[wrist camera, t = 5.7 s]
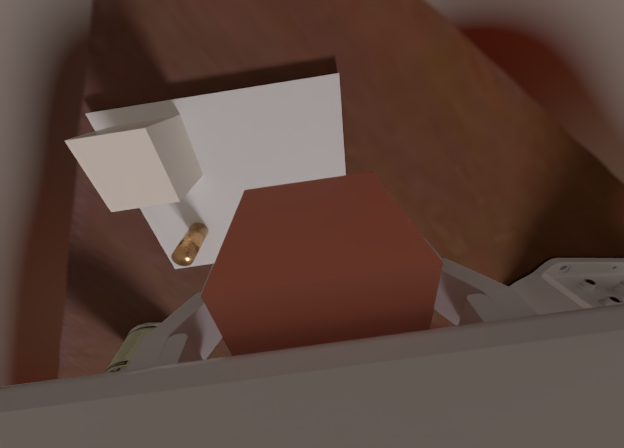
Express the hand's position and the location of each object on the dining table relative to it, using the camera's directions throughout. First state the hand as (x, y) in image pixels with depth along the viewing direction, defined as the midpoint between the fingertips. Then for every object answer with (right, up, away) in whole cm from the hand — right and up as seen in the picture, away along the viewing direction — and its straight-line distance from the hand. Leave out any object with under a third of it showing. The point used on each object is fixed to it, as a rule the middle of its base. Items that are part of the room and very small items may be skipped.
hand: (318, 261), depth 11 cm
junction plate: (-8, +6, +16) cm, 19 cm away
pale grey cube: (-14, +8, +13) cm, 21 cm away
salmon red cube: (0, +1, +2) cm, 2 cm away
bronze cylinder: (-13, +1, +17) cm, 22 cm away
